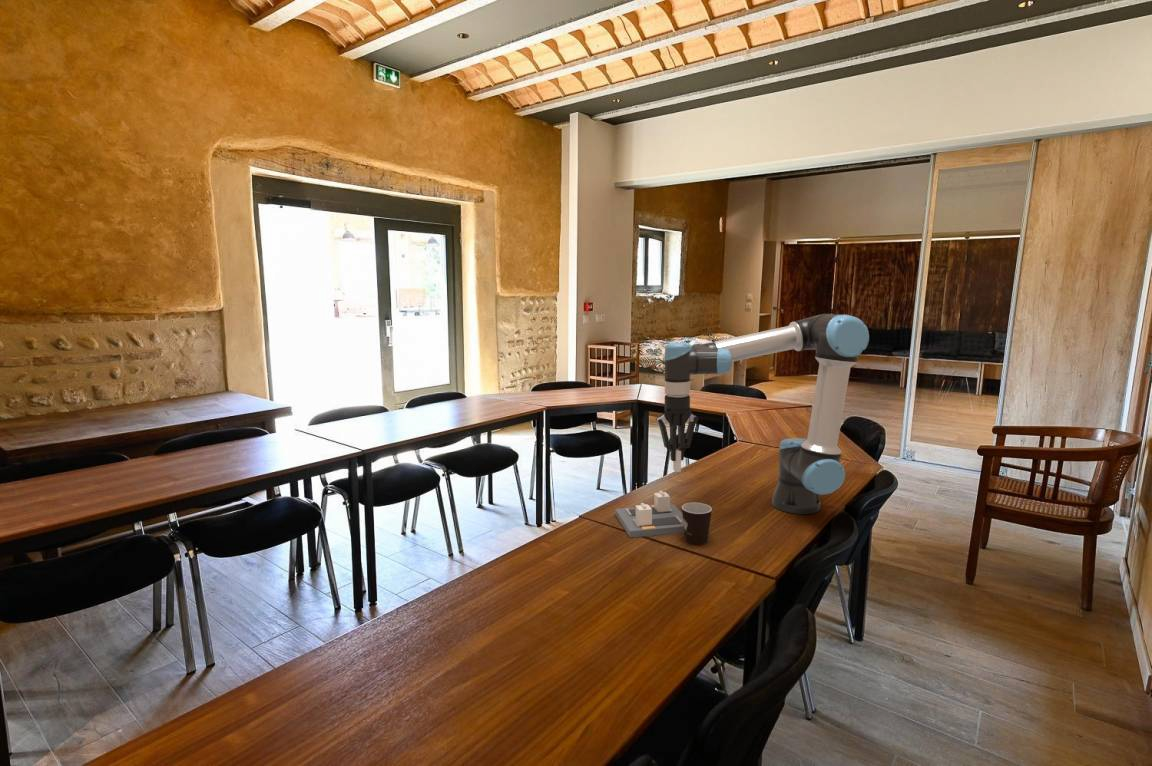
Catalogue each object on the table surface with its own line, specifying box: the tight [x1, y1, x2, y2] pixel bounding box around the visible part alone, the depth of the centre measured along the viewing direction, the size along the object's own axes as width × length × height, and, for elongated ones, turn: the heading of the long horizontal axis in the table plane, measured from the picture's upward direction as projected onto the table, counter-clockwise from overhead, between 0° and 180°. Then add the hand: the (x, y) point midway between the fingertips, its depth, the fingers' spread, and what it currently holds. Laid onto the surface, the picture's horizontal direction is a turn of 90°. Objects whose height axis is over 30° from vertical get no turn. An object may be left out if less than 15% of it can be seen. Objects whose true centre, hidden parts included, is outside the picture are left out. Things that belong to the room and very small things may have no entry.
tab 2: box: [635, 502, 652, 526], centre depth 173 cm, size 4×4×6 cm
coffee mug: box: [681, 502, 713, 546], centre depth 166 cm, size 12×9×10 cm
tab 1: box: [653, 490, 671, 512], centre depth 183 cm, size 4×4×6 cm
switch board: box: [614, 503, 685, 539], centre depth 179 cm, size 20×18×3 cm
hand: (677, 470), depth 173 cm, fingers closed
